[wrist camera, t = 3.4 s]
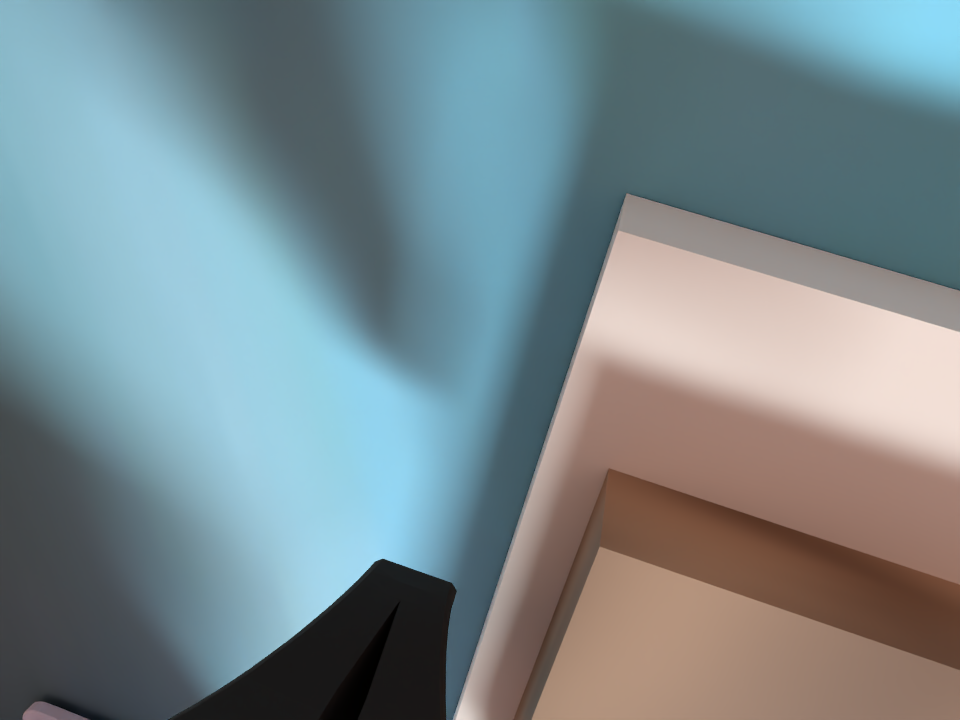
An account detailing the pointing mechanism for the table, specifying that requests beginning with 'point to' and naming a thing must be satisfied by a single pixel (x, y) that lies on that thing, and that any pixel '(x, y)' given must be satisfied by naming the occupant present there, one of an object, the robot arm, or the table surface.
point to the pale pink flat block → (738, 412)
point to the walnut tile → (738, 622)
